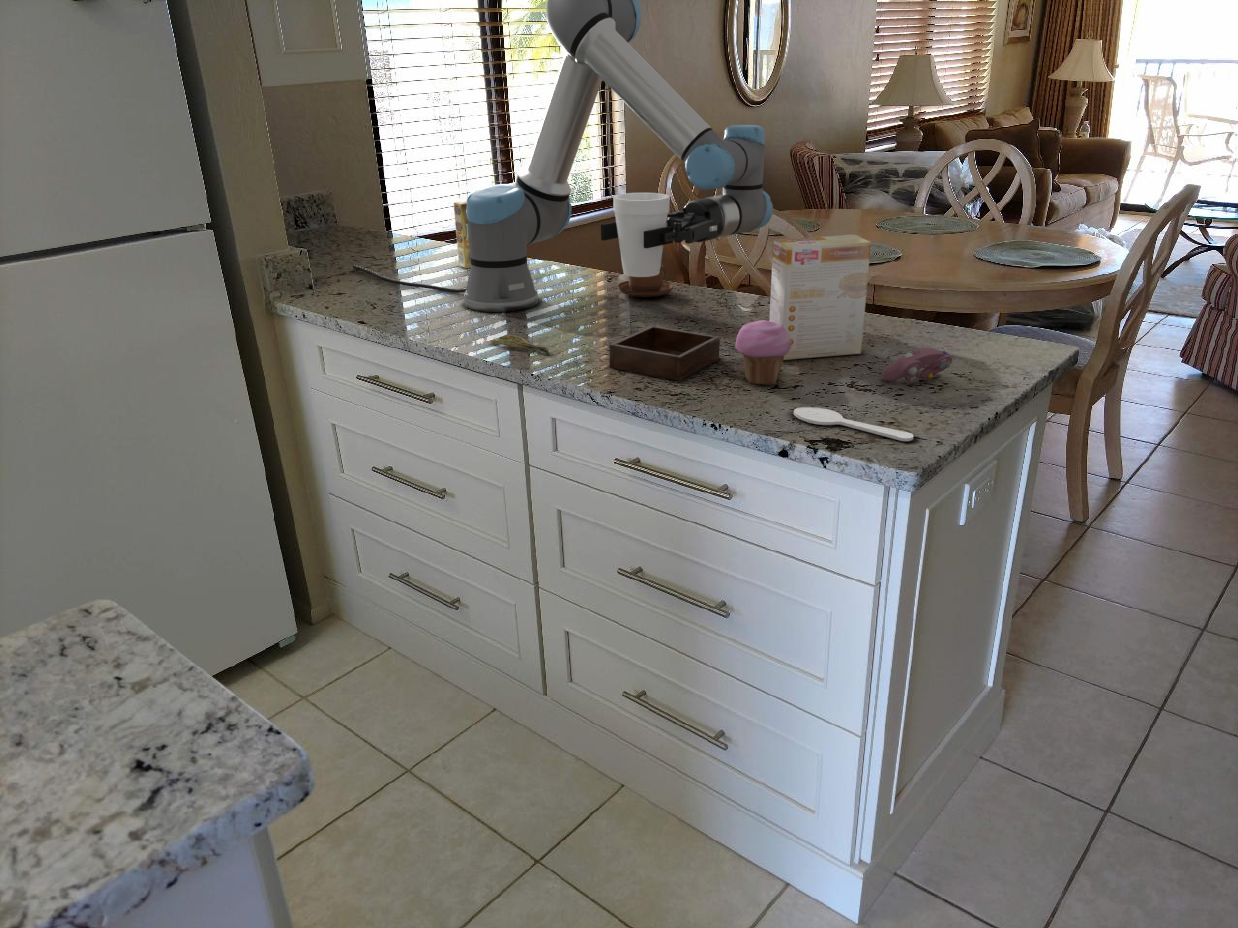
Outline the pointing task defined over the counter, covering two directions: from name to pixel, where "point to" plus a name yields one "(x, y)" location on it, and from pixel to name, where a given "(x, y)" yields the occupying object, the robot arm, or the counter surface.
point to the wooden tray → (664, 352)
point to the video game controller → (918, 365)
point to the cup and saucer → (647, 285)
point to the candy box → (462, 234)
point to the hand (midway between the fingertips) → (623, 236)
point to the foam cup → (640, 230)
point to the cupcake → (763, 350)
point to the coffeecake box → (820, 293)
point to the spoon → (847, 422)
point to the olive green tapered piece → (518, 343)
